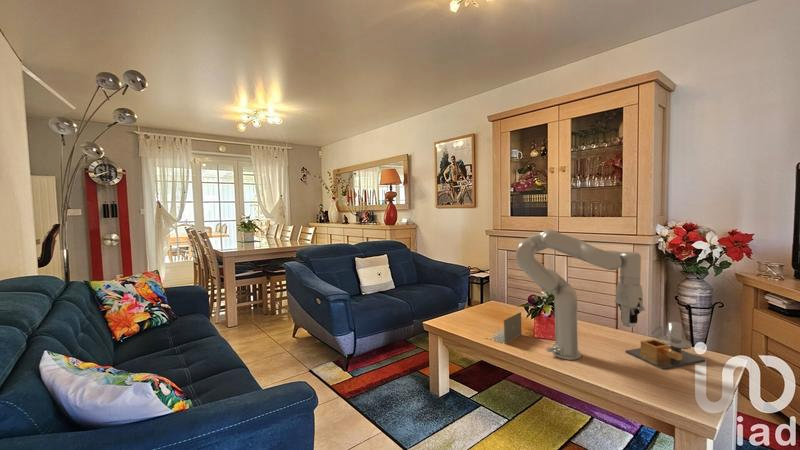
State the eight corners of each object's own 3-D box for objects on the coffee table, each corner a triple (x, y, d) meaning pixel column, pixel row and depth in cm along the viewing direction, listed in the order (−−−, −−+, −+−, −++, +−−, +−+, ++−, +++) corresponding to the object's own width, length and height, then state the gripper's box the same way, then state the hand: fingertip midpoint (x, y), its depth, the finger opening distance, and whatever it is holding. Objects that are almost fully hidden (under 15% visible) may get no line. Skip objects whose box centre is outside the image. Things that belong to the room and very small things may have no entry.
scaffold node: (666, 371, 146) (666, 336, 145) (625, 352, 165) (625, 321, 164) (710, 363, 151) (710, 329, 151) (665, 345, 171) (665, 315, 170)
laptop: (501, 329, 202) (501, 307, 201) (521, 335, 193) (521, 312, 192) (484, 338, 189) (483, 315, 189) (505, 345, 180) (504, 320, 180)
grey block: (629, 327, 152) (629, 307, 151) (621, 324, 155) (621, 305, 155) (636, 326, 153) (637, 306, 152) (628, 323, 156) (629, 304, 156)
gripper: (607, 277, 160) (606, 316, 161) (640, 285, 144) (639, 328, 145) (620, 275, 162) (619, 314, 163) (654, 283, 145) (653, 326, 147)
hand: (629, 320), depth 154 cm, fingers closed on grey block, 4 cm apart
